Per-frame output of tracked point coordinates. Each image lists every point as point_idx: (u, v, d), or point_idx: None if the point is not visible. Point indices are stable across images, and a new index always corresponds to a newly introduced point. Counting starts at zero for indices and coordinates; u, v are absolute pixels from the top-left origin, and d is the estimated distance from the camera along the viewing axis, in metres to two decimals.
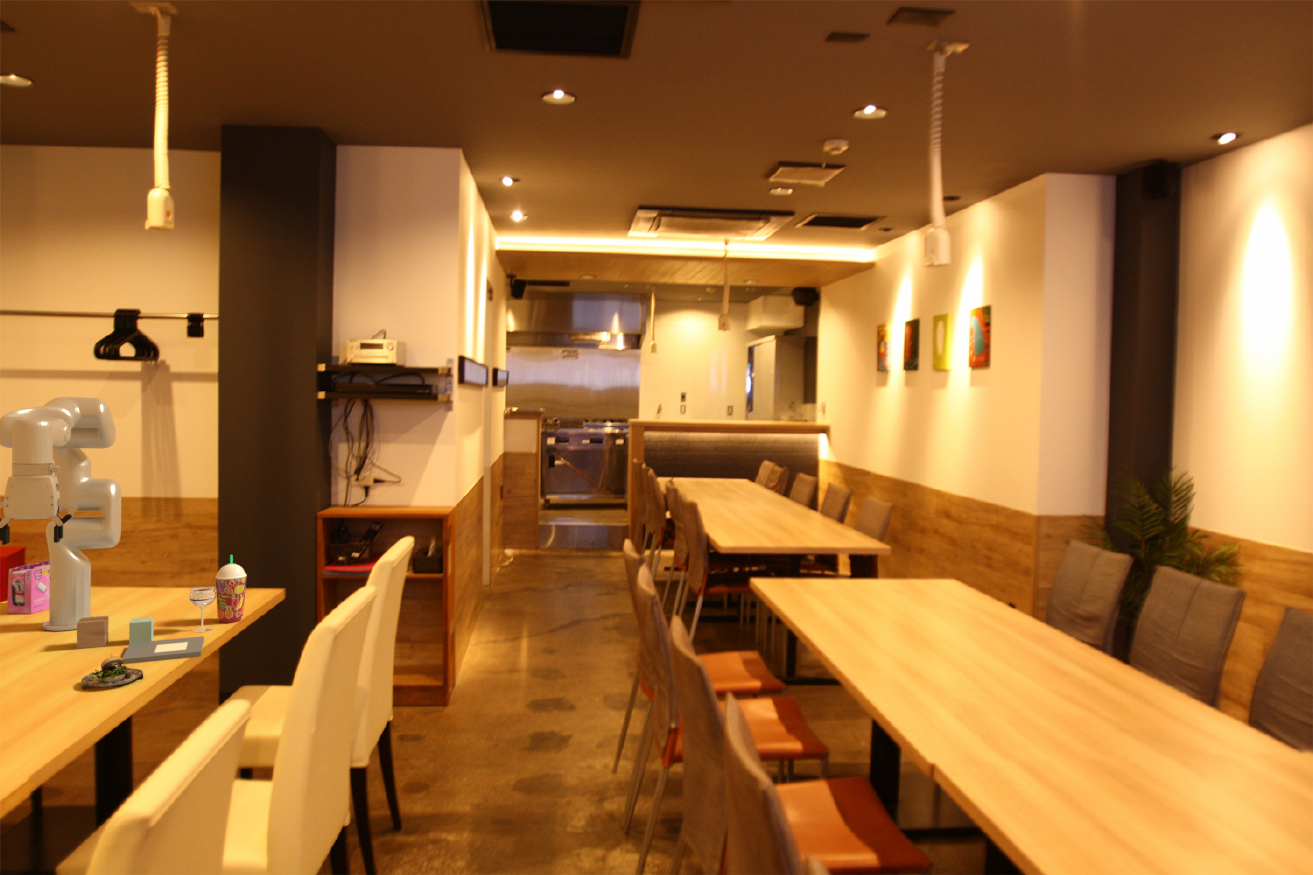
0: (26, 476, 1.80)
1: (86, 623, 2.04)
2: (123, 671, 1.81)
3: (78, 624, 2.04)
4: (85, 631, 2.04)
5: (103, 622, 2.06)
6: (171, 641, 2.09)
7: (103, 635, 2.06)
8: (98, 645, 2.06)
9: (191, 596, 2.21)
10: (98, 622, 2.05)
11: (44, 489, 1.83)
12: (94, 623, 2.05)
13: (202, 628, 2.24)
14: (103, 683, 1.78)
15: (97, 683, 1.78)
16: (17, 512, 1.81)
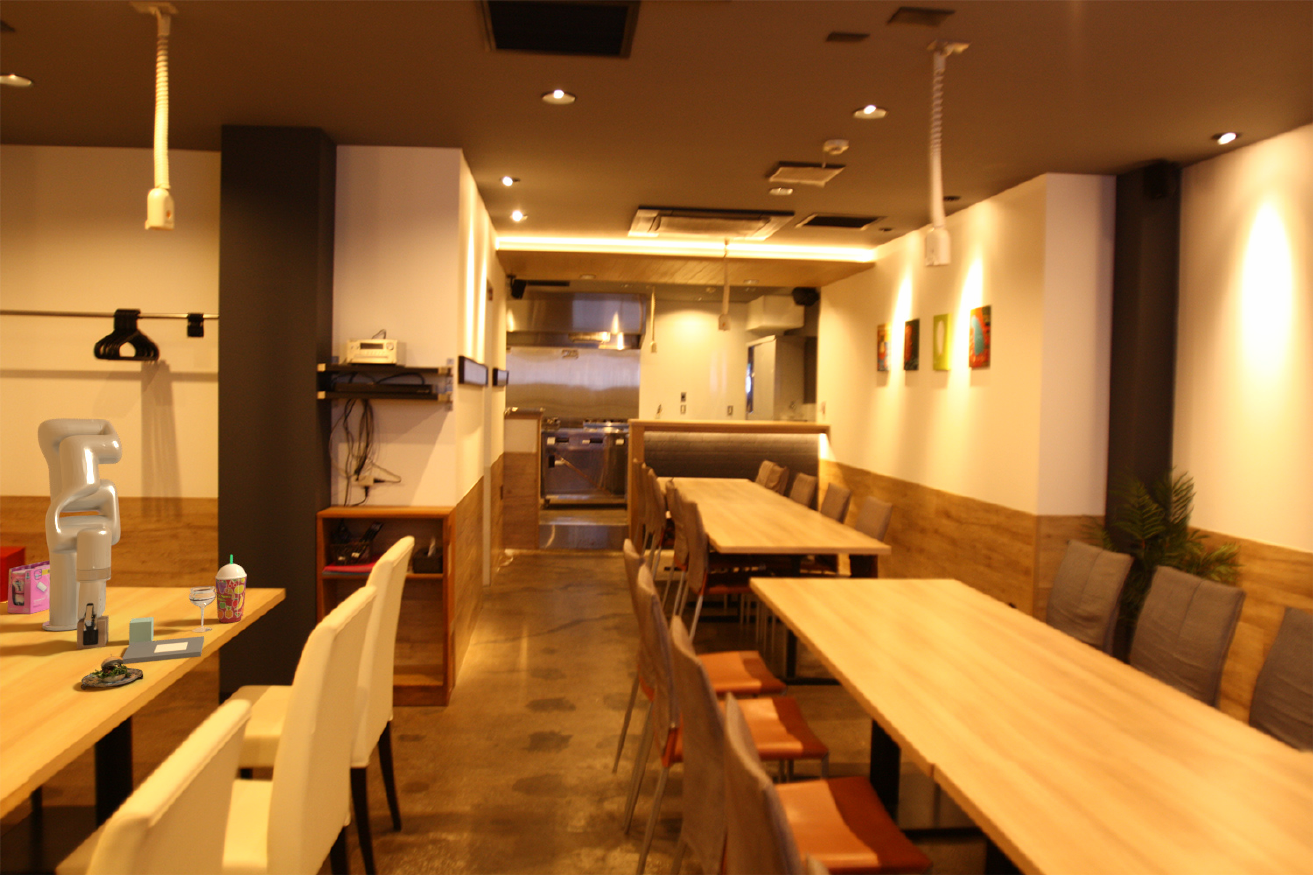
0: (110, 577, 2.08)
1: None
2: (123, 671, 1.81)
3: (78, 624, 2.03)
4: None
5: (103, 622, 2.06)
6: (171, 641, 2.09)
7: (103, 635, 2.06)
8: (98, 645, 2.06)
9: (191, 596, 2.21)
10: (98, 622, 2.05)
11: None
12: None
13: (202, 628, 2.24)
14: (103, 683, 1.78)
15: (97, 683, 1.78)
16: (101, 611, 2.06)
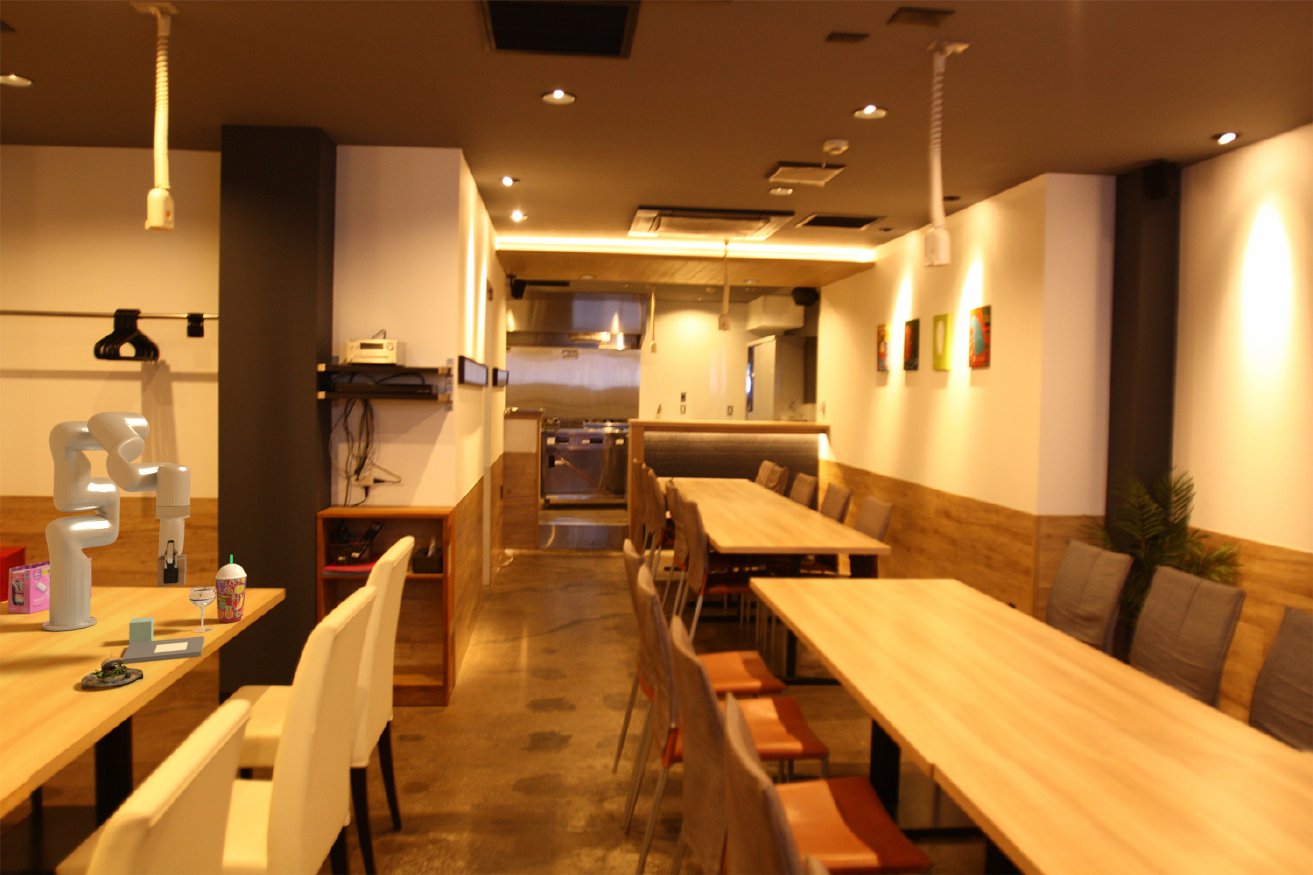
0: (189, 515, 2.04)
1: None
2: (123, 671, 1.81)
3: (158, 561, 1.99)
4: None
5: (183, 560, 2.01)
6: (171, 641, 2.09)
7: (183, 573, 2.02)
8: (178, 583, 2.01)
9: (191, 596, 2.21)
10: (178, 560, 2.01)
11: None
12: None
13: (202, 628, 2.24)
14: (103, 683, 1.78)
15: (97, 683, 1.78)
16: (181, 549, 2.02)
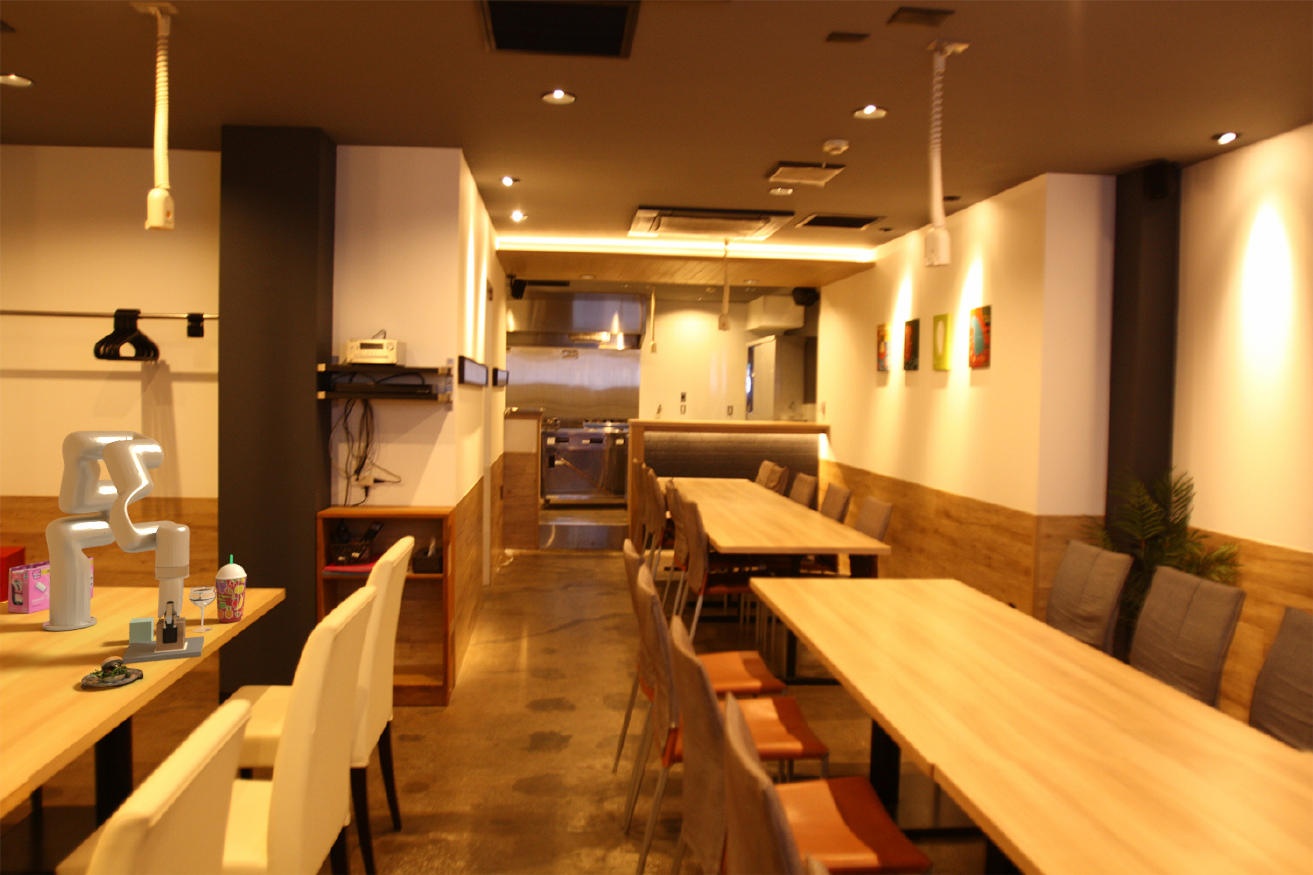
0: (188, 574, 2.04)
1: None
2: (123, 671, 1.81)
3: (157, 626, 1.99)
4: None
5: (182, 623, 2.02)
6: None
7: (182, 637, 2.02)
8: (177, 647, 2.02)
9: (191, 596, 2.21)
10: (177, 623, 2.01)
11: None
12: None
13: (202, 628, 2.24)
14: (103, 683, 1.78)
15: (97, 683, 1.78)
16: (180, 609, 2.02)
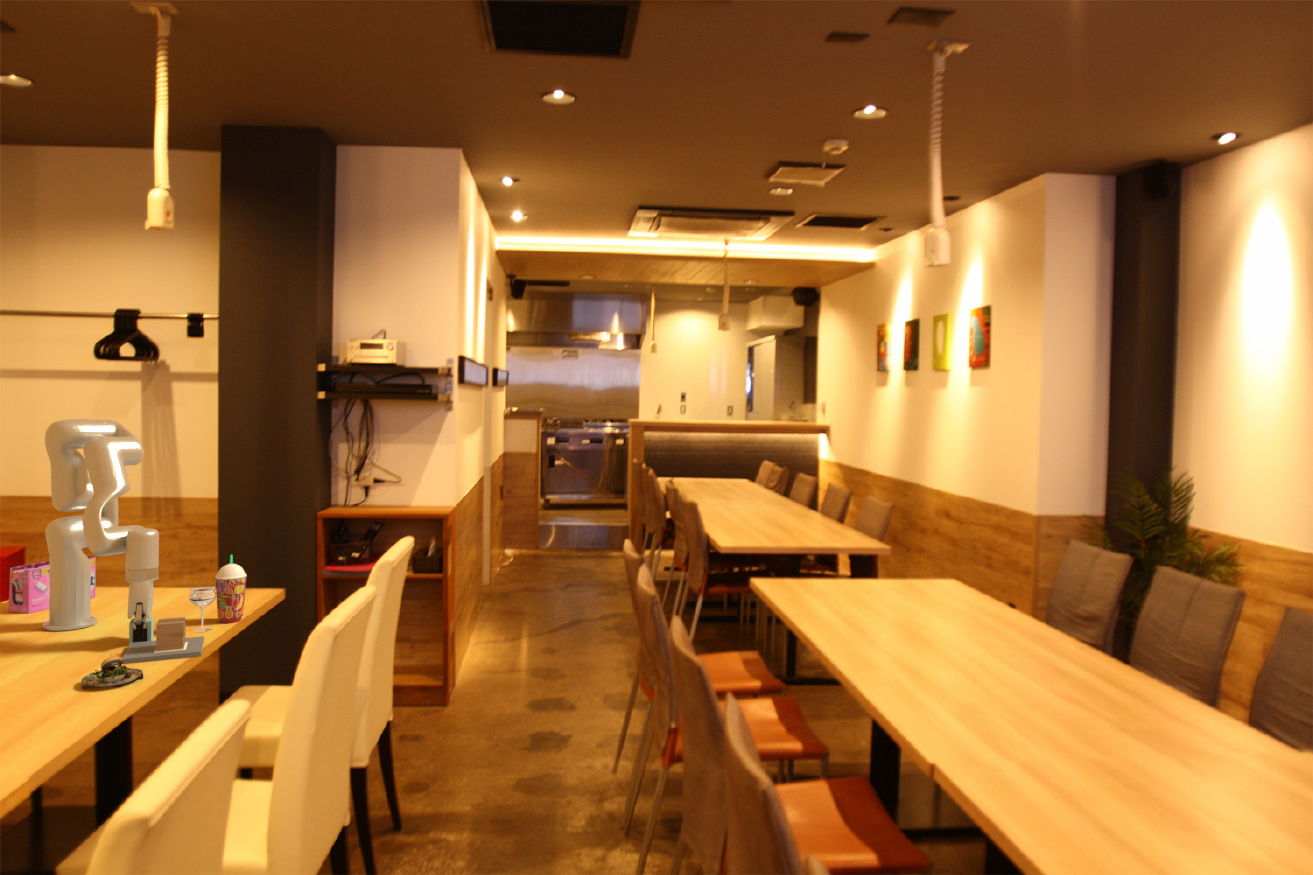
0: (158, 577, 2.13)
1: (165, 625, 2.00)
2: (123, 671, 1.81)
3: (157, 626, 1.99)
4: (164, 632, 2.00)
5: (182, 623, 2.02)
6: None
7: (182, 637, 2.02)
8: (177, 647, 2.02)
9: (191, 596, 2.21)
10: (177, 623, 2.01)
11: None
12: (173, 625, 2.01)
13: (202, 628, 2.24)
14: (103, 683, 1.78)
15: (97, 683, 1.78)
16: (150, 610, 2.11)
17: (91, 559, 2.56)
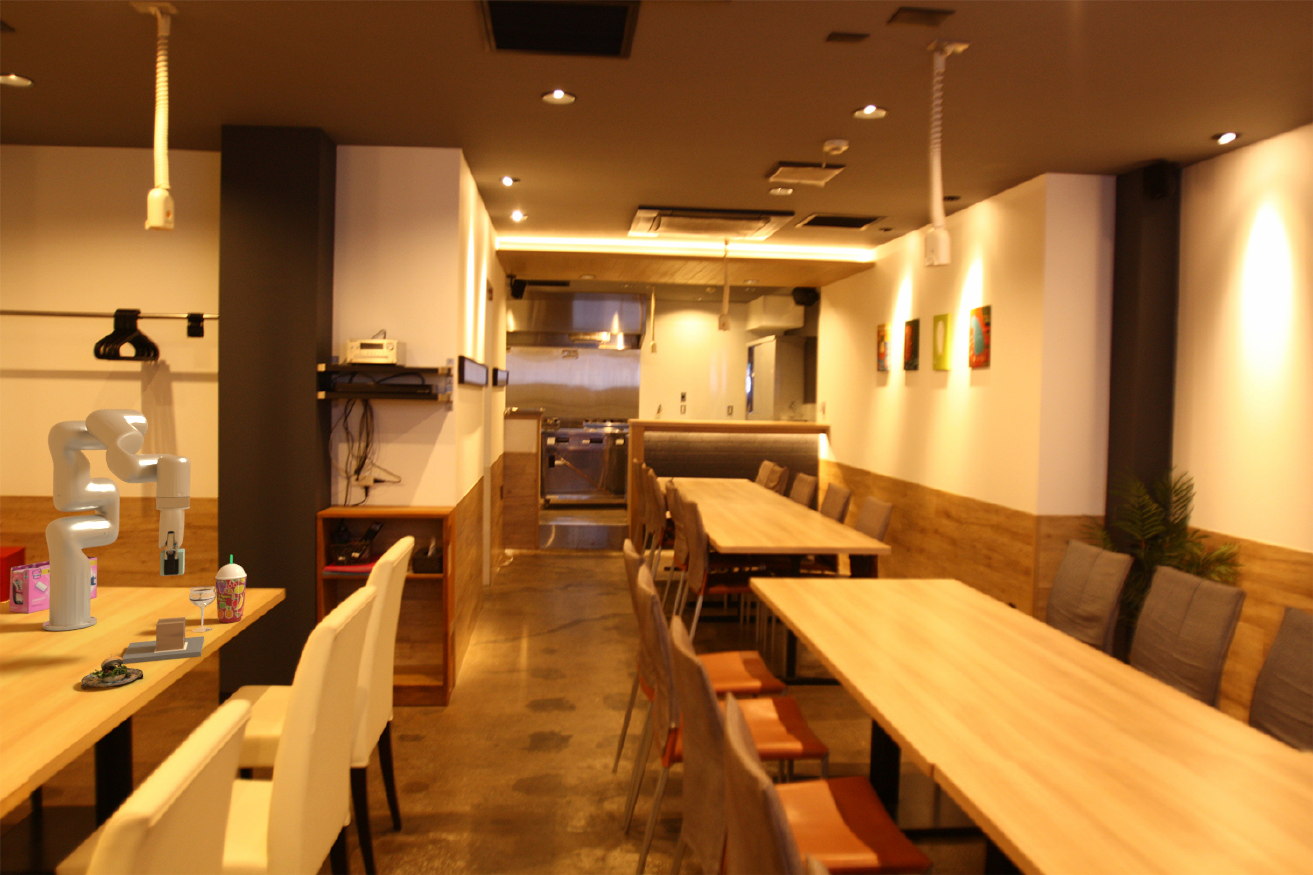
0: (189, 506, 2.04)
1: (165, 625, 2.00)
2: (123, 671, 1.81)
3: (157, 626, 1.99)
4: (164, 632, 2.00)
5: (182, 623, 2.02)
6: None
7: (182, 637, 2.02)
8: (177, 647, 2.02)
9: (191, 596, 2.21)
10: (177, 623, 2.01)
11: None
12: (173, 625, 2.01)
13: (202, 628, 2.24)
14: (103, 683, 1.78)
15: (97, 683, 1.78)
16: (181, 540, 2.02)
17: (92, 559, 2.56)
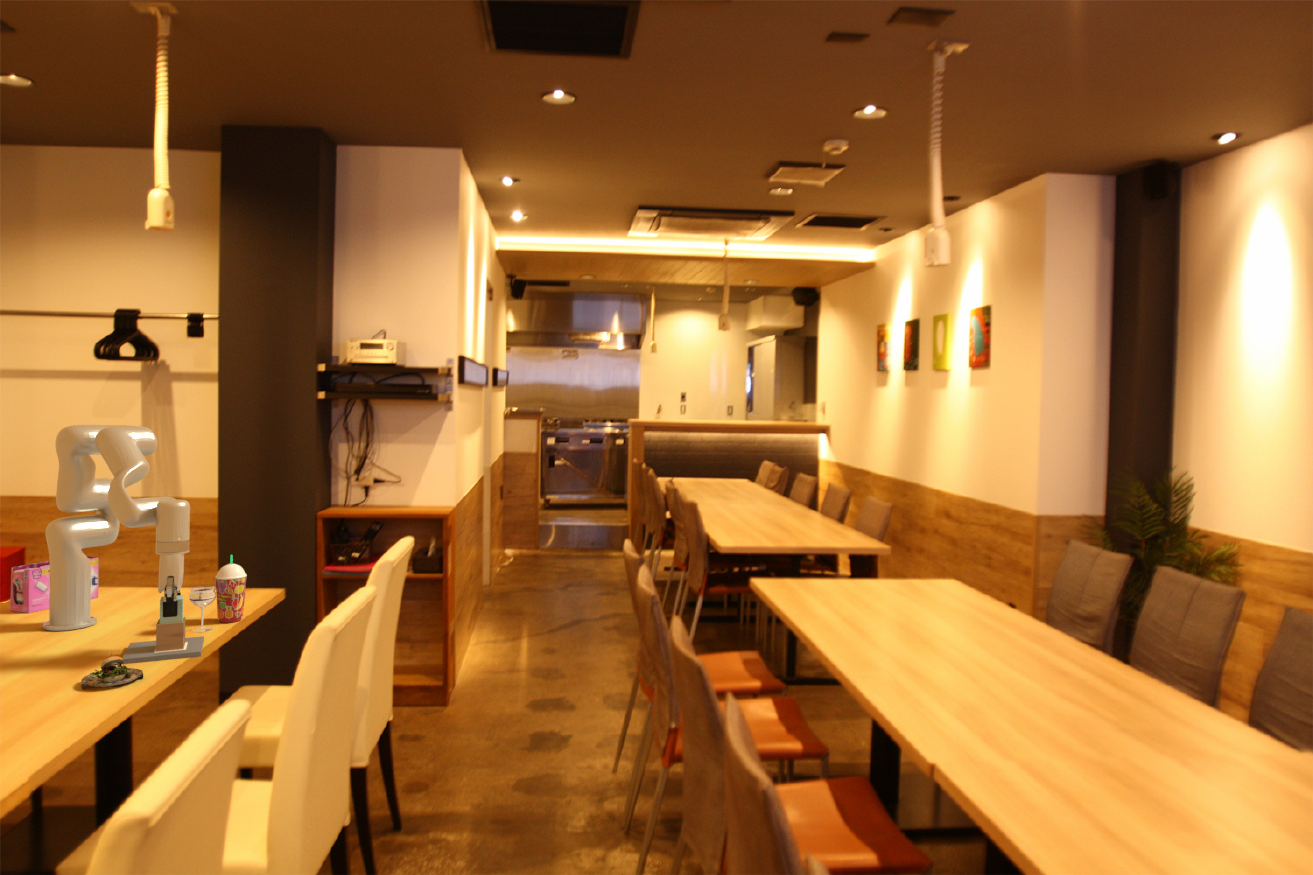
0: None
1: (165, 625, 2.00)
2: (123, 671, 1.81)
3: (157, 626, 1.99)
4: (164, 632, 2.00)
5: (182, 623, 2.02)
6: None
7: (182, 637, 2.02)
8: (177, 647, 2.02)
9: (191, 596, 2.21)
10: (177, 623, 2.01)
11: None
12: (173, 625, 2.01)
13: (202, 628, 2.24)
14: (103, 683, 1.78)
15: (97, 683, 1.78)
16: (181, 584, 2.02)
17: (94, 559, 2.56)
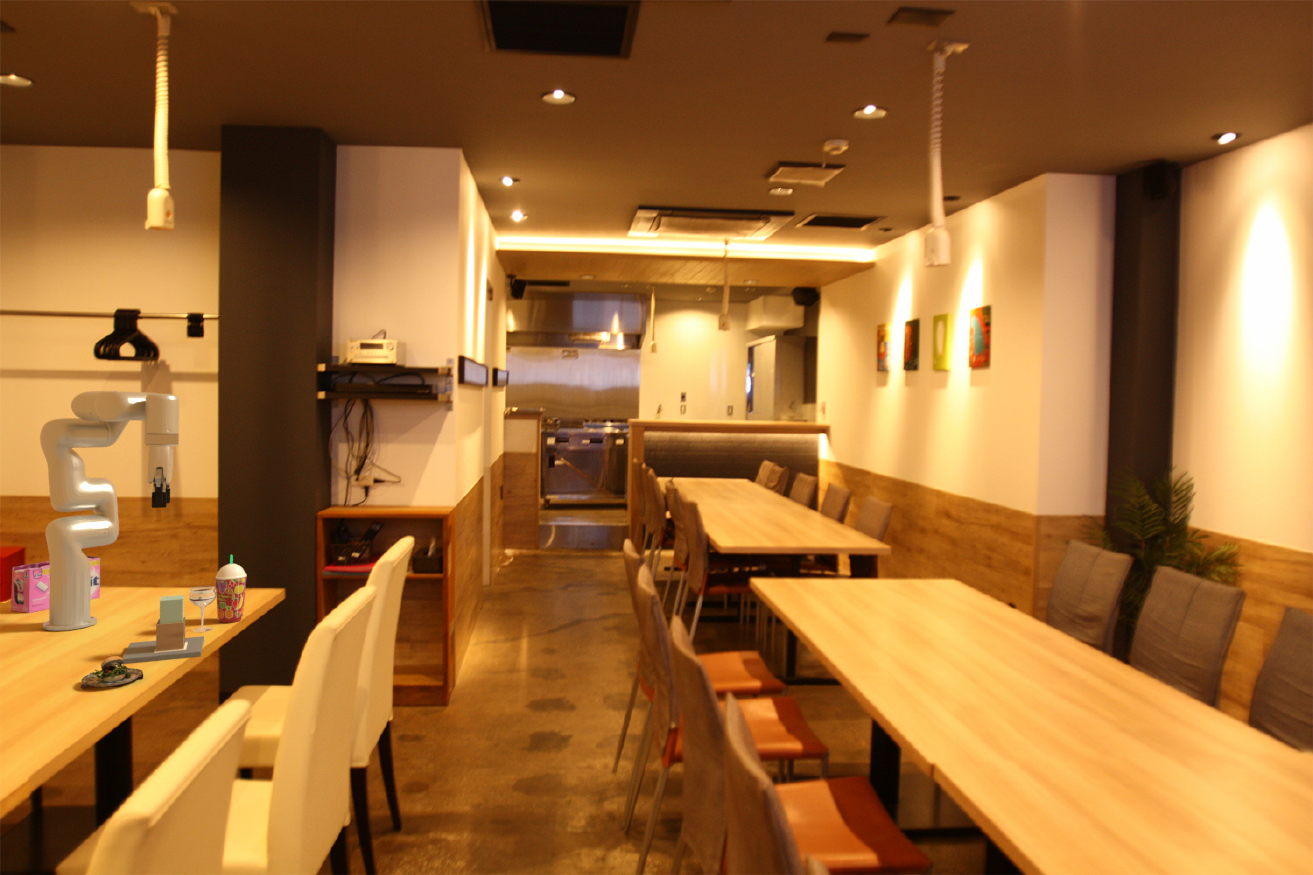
0: (178, 444, 2.05)
1: (165, 625, 2.00)
2: (123, 671, 1.81)
3: (157, 626, 1.99)
4: (164, 632, 2.00)
5: (182, 623, 2.02)
6: None
7: (182, 637, 2.02)
8: (177, 647, 2.02)
9: (191, 596, 2.21)
10: (177, 623, 2.01)
11: None
12: (173, 625, 2.01)
13: (202, 628, 2.24)
14: (103, 683, 1.78)
15: (97, 683, 1.78)
16: (170, 477, 2.03)
17: (95, 559, 2.56)
